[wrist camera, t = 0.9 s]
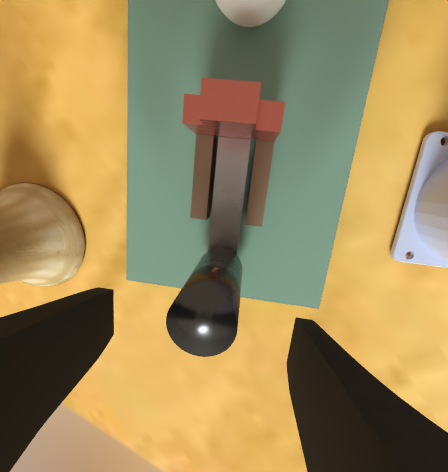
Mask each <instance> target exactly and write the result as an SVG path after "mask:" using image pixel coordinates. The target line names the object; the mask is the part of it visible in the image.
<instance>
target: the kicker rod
mask: <svg viewBox="0 0 448 472" xmlns="http://www.w3.org/2000/svg"><path fill="white" fill-rule="evenodd" d="M260 90H261V82H252V81H239V80H226V79H212V78H201V92H200V95H196V94H184V103H183V120H182V123H183V124H184V125H185V126H186V127H188V128H189V129H190V130H191V131H193V132H194V133H195V134H202V135H213V136H219V138H218V149H217V159H216V170H215V181H214V191H213V202H212V213H211V223H210V234H209V245H208V251H207V252H206V253H205V254H204V255H203V256H202V258H201V259H200V261H199V262H198V264H197V266H196V267H195V269H194V270H193V272H192V273H191V275H190V277H189V278H188V280H187V281H186V283H185V285H184V286H183V288H182V289H181V291H180V293H179V294H178V296H177V297H176V299H175V300H174V302H173V304H172V305H171V307H170V308H169V311H168V313H167V318H166V325H167V330H168V333H169V335H170V337H171V339H172V340H173V341H174V343H175V344H176V345H177V346H178V347H180V348H181V349H182V350H184V351H185V352H188V353H190V354H193V355H196V356H203V357H208V356H214V355H217V354H220V353H222V352H224V351H225V350H227V349H228V348H229V347H230V346H231V344H232V343H233V341H234V340H235V337H236V334H237V326H238V315H239V304H240V293H241V282H242V271H243V269H242V263H241V261H240V259H239V257H238V256H237V250H238V242H239V234H240V226H241V218H242V210H243V202H244V194H245V186H246V178H247V170H248V162H249V154H250V146H251V139H255V140H265V141H275V140H276V139H277V137H278V136H279V134H280V133H281V127H282V121H283V114H284V107H285V102H282V101H269V100H259V99H260Z"/></svg>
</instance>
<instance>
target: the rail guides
mask: <svg viewBox="0 0 448 472" xmlns="http://www.w3.org/2000/svg"><path fill="white" fill-rule="evenodd" d="M274 142H275V141H265V140H256V146H255V154H254V162H253V169H252V177H251V185H250V193H249V200H248V208H247V216H246V224H245V225H250V226H258V227H262V223H263V217H264V210H265V203H266V196H267V190H268V183H269V176H270V169H271V162H272V156H273V149H274ZM216 146H217V136H213V135H202V134H196V144H195V158H194V172H193V186H192V199H191V213H190V218H194V219H202V220H207V219H208V218H209V217H210V211H211V200H212V189H213V179H214V168H215V157H216Z"/></svg>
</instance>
